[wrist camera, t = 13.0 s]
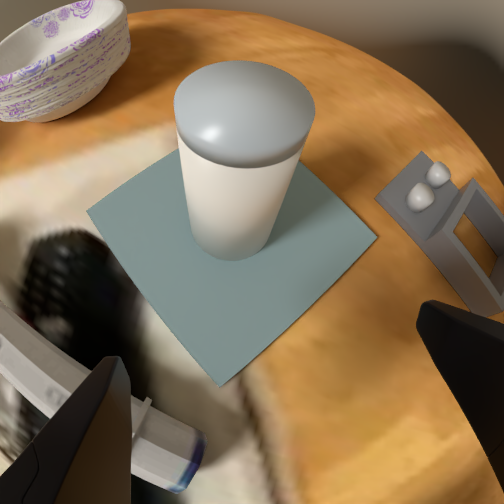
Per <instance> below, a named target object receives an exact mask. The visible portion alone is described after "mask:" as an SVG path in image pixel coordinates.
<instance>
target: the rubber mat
mask: <svg viewBox="0 0 504 504" xmlns="http://www.w3.org/2000/svg"><path fill="white" fill-rule="evenodd" d="M86 212H87V213H88V215H89V216H90V218H91V220H92V221H93V223H94V224H95V226H96V228H97V229H98V231H99V232H100V234H101V235H102V237H103V238H104V240H105V241H106V243H107V244H108V246H109V247H110V249H111V250H112V252H113V253H114V255H115V256H116V258H117V259H118V261H119V262H120V264H121V265H122V267H123V268H124V269H125V271H126V272H127V274H128V275H129V276H130V278H131V279H132V281H133V282H134V283H135V285H136V286H137V288H138V289H139V290H140V292H141V293H142V294H143V296H144V297H145V298H146V300H147V301H148V302H149V304H150V305H151V306H152V308H153V309H154V310H155V311H156V313H157V314H158V315H159V317H160V318H161V319H162V320H163V322H164V323H165V324H166V326H167V327H168V328H169V329H170V330H171V332H172V333H173V334H174V335H175V337H176V338H177V339H178V340H179V342H180V343H181V344H182V345H183V346H184V348H185V349H186V350H187V351H188V352H189V353H190V355H191V356H192V357H193V358H194V359H195V360H196V362H197V363H198V364H199V365H200V366H201V367H202V369H203V370H204V371H205V372H206V373H207V374H208V375H209V376H210V378H211V379H212V380H213V381H214V382H215V383H216V384H217V385H218V386H219V387H221V386H222V385H223V384H225V383H226V382H227V381H228V380H229V379H230V378H232V377H233V376H234V375H235V374H236V373H238V372H239V371H240V370H241V369H242V368H243V367H245V366H246V365H247V364H248V363H249V362H250V361H251V360H253V359H254V358H255V357H256V356H257V355H258V354H259V353H260V352H262V351H263V350H264V349H265V348H266V347H267V346H268V345H269V344H270V343H272V342H273V341H274V340H275V339H276V338H277V337H278V336H279V335H280V334H281V333H282V332H284V331H285V330H286V329H287V328H288V327H289V326H290V325H291V324H292V323H293V322H294V321H295V320H296V319H297V318H299V317H300V316H301V315H302V314H303V313H304V312H305V311H306V310H307V309H308V308H309V307H310V306H311V305H312V304H313V303H314V302H315V301H316V300H317V299H318V298H319V297H320V296H321V295H322V294H323V293H324V292H325V291H326V290H327V289H328V288H329V287H330V286H331V285H332V284H333V283H334V282H335V281H336V280H337V279H338V278H339V277H340V276H341V275H342V274H343V273H344V272H345V271H346V270H347V269H348V268H349V267H350V266H351V265H352V264H353V263H354V262H355V261H356V260H357V259H358V258H359V256H360V255H361V254H362V253H363V252H364V251H365V250H366V249H367V248H368V247H369V246H370V245H371V244H372V243H373V241H374V240H375V239H376V238H377V236H376V235H375V234H374V233H373V232H372V231H371V230H370V229H369V228H368V227H367V226H366V225H365V224H364V223H363V222H362V221H361V220H360V219H359V218H358V217H357V216H356V214H355V213H354V212H353V211H352V210H351V209H350V208H349V207H348V206H347V205H346V204H345V203H344V202H343V201H341V200H340V199H339V198H338V197H337V196H336V195H335V194H334V193H333V192H332V191H331V190H330V189H329V188H328V187H327V186H326V185H325V184H324V183H323V182H322V181H321V180H320V179H319V178H318V177H316V176H315V175H314V174H313V173H312V172H311V171H310V170H309V169H308V168H307V167H306V166H305V165H303V164H302V163H301V162H300V161H299V160H298V163H297V165H296V168H295V171H294V173H293V176H292V178H291V181H290V184H289V186H288V189H287V191H286V194H285V197H284V199H283V202H282V204H281V207H280V210H279V212H278V215H277V217H276V220H275V223H274V225H273V228H272V230H271V233H270V236H269V238H268V240H267V242H266V244H265V245H264V246H263V248H262V249H261V250H260V251H258V252H257V253H256V254H254V255H253V256H251V257H249V258H246V259H243V260H238V261H225V260H220V259H217V258H214V257H212V256H210V255H209V254H207V253H206V252H204V251H203V250H202V249H201V248H200V247H199V246H198V244H197V243H196V242H195V240H194V238H193V235H192V232H191V226H190V220H189V214H188V208H187V201H186V195H185V188H184V181H183V174H182V167H181V160H180V152H179V148H178V149H177V150H175V151H173V152H172V153H170V154H168V155H167V156H165V157H164V158H162V159H160V160H159V161H157V162H156V163H154V164H153V165H151V166H149V167H148V168H146V169H145V170H143V171H142V172H140V173H139V174H137V175H136V176H134V177H133V178H131V179H130V180H128V181H127V182H125V183H124V184H123V185H121V186H120V187H118V188H117V189H115V190H114V191H113V192H111V193H110V194H108V195H107V196H106V197H104V198H103V199H102V200H100V201H99V202H97V203H96V204H95V205H93V206H92V207H91V208H89V209H88V210H87V211H86Z"/></svg>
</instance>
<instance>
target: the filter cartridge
mask: <svg viewBox="0 0 504 504" xmlns="http://www.w3.org/2000/svg"><path fill="white" fill-rule="evenodd" d="M174 111H175V119H176V128H177V136H178V144H179V152H180V160H181V167H182V174H183V181H184V188H185V195H186V201H187V208H188V214H189V220H190V226H191V232H192V235H193V238H194V240H195V242H196V243H197V244H198V246H199V247H200V248H201V249H202V250H203V251H204V252H206V253H207V254H209V255H210V256H212V257H214V258H217V259H220V260H225V261H238V260H243V259H246V258H249V257H251V256H253V255H254V254H256V253H257V252H258V251H260V250H261V249H262V248H263V246H264V245H265V244H266V242H267V240H268V238H269V236H270V233H271V230H272V228H273V225H274V223H275V220H276V217H277V215H278V212H279V210H280V207H281V204H282V202H283V199H284V197H285V194H286V191H287V189H288V186H289V184H290V181H291V178H292V176H293V173H294V171H295V168H296V165H297V163H298V160H299V157H300V155H301V152H302V149H303V147H304V144H305V142H306V139H307V136H308V134H309V131H310V128H311V126H312V123H313V120H314V116H315V105H314V101H313V98H312V96H311V94H310V93H309V91H308V90H307V89H306V87H305V86H304V85H303V84H302V83H301V82H300V81H299V80H297V79H296V78H295V77H293V76H292V75H290V74H289V73H287V72H285V71H283V70H281V69H278V68H276V67H273V66H270V65H267V64H263V63H259V62H252V61H225V62H219V63H215V64H211V65H208V66H205V67H203V68H200V69H198V70H197V71H195V72H193V73H192V74H190V75H189V76H188V77H186V78H185V79H184V80H183V81H182V82H181V84H180V85H179V86H178V88H177V90H176V93H175V96H174Z"/></svg>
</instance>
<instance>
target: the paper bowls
mask: <svg viewBox="0 0 504 504" xmlns="http://www.w3.org/2000/svg"><path fill="white" fill-rule="evenodd" d="M130 49H131V43H130V35H129V27H128V22H127V13H126V7H125V5H124V4H123V3H122V2H121V1H119V0H85V1H80V2H76V3H72V4H69V5H66V6H63V7H60V8H57V9H55V10H52V11H50V12H48V13H46V14H43V15H42V16H40V17H38V18H36V19H34V20H32V21H31V22H28V23H27V24H25V25H24V26H22V27H20V28H19V29H17V30H16V31H14V32H13V33H12V34H10V35H9V36H8V37H7V38H5V39H4V40H3V41H2V42H1V43H0V120H1V121H4V122H19V121H24V120H27V121H30V122H47V121H51V120H55V119H58V118H61V117H63V116H65V115H68V114H70V113H72V112H74V111H75V110H77V109H79V108H80V107H82V106H84V105H85V104H86V103H88V102H89V101H90V100H92V99H93V98H94V97H95V96H96V95H97V94H98V93H99V92H100V91H101V90H102V89H103V88H104V87H105V85H106V84H107V82H108V81H109V78H110V76H111V75H112V74H114V73H115V72H116V71H117V70H118V69H119V68H120V66H121V65H122V64H123V63H124V62H125V61H126V59H127V57H128V55H129V53H130Z"/></svg>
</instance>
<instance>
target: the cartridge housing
mask: <svg viewBox="0 0 504 504" xmlns="http://www.w3.org/2000/svg"><path fill="white" fill-rule="evenodd" d="M450 177H451V174H450V171H449V169H448V168H447V166H446V165H445V164H443V163H442V162H439V161H437V162H435V163H434V162H433V161H432V160H431V159H430V158H429V157H428V156H427V155H426V154H425V153H424V152H422V151H421V152H420V153H419V154H418V155H417V156H416V157H415V158H414V159H413V160H412V161H411V162H410V163H409V164H408V165H407V166H406V167H405V168H404V169H403V170H402V171H401V172H400V173H399V174H398V175H397V176H396V177H395V178H394V179H393V180H392V181H391V182H390V183H389V184H388V185H387V186H386V187H385V188H384V189H383V190H382V191H381V192H380V193H379V194H378V195H377V196H376V198H375V200H376V201H377V202H378V203H379V204H380V205H381V206H382V207H383V208H384V209H385V210H386V211H387V212H388V213H389V214H390V215H391V216H392V217H393V218H394V219H395V221H396V222H397V223H398V224H399V225H400V226H401V227H402V228H403V229H404V230H405V231H406V232H407V234H408V235H409V236H410V237H411V238H412V239H413V240H414V241H415V242H416V244H417V245H418V246H419V247H420V248H421V249H422V250H423V252H424V253H425V254H426V255H427V256H428V257H429V259H430V260H431V261H432V262H433V263H434V265H435V266H436V267H437V268H438V269H439V271H440V272H441V273H442V274H443V276H444V277H445V278H446V279H447V280H448V282H449V283H450V284H451V286H452V287H453V288H454V289H455V291H456V292H457V293H458V295H459V296H460V297H461V299H462V300H463V301H464V302H465V304H466V305H467V307H468V308H469V309H470V311H471V312H472V313H474V314H477V315H480V316H483V317H488V316H491V315H494V314H497V313H500V312H503V310H504V216H503V214H502V213H501V212H500V210H499V209H498V208H497V206H496V205H495V204H494V202H493V201H492V200H491V199H490V197H489V196H488V195H487V194H486V192H485V191H484V190H483V189H482V188H481V186H480V185H479V184H478V183H477V182H476V180H475V179H474V178H472V179H471V180H470V181H469V182H467V183H466V184H465V185H464V186H463V187H462V188H461V189H460V190H459V189H458V188H457V187H456V186H455V185H454V184H453V183H452V182H451V180H450ZM463 213H464V214H465V215H466V216H467V217H468V218H469V220H470V221H471V222H472V223H473V225H474V226H475V227H476V228H477V230H478V231H479V232H480V234H481V235H482V236H483V237H484V239H485V240H486V241H487V243H488V244H489V245H490V247H491V248H492V250H493V251H494V252H495V254H496V255H497V257H498V258H497V261H496V263H495V266H494V268H493V270H492V273H491V275H490V277H489V278H488V277H487V276H486V274H485V273H484V271H483V270H482V269H481V267H480V266H479V265H478V263H477V262H476V261H475V259H474V258H473V257H472V255H471V254H470V253H469V251H468V250H467V249H466V248H465V246H464V245H463V244H462V243H461V241H460V240H459V239H458V238H457V236H456V235H455V234H454V233H453V230H454V229H455V227H456V225H457V223H458V222H459V220H460V218H461V216H462V215H463Z"/></svg>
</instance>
